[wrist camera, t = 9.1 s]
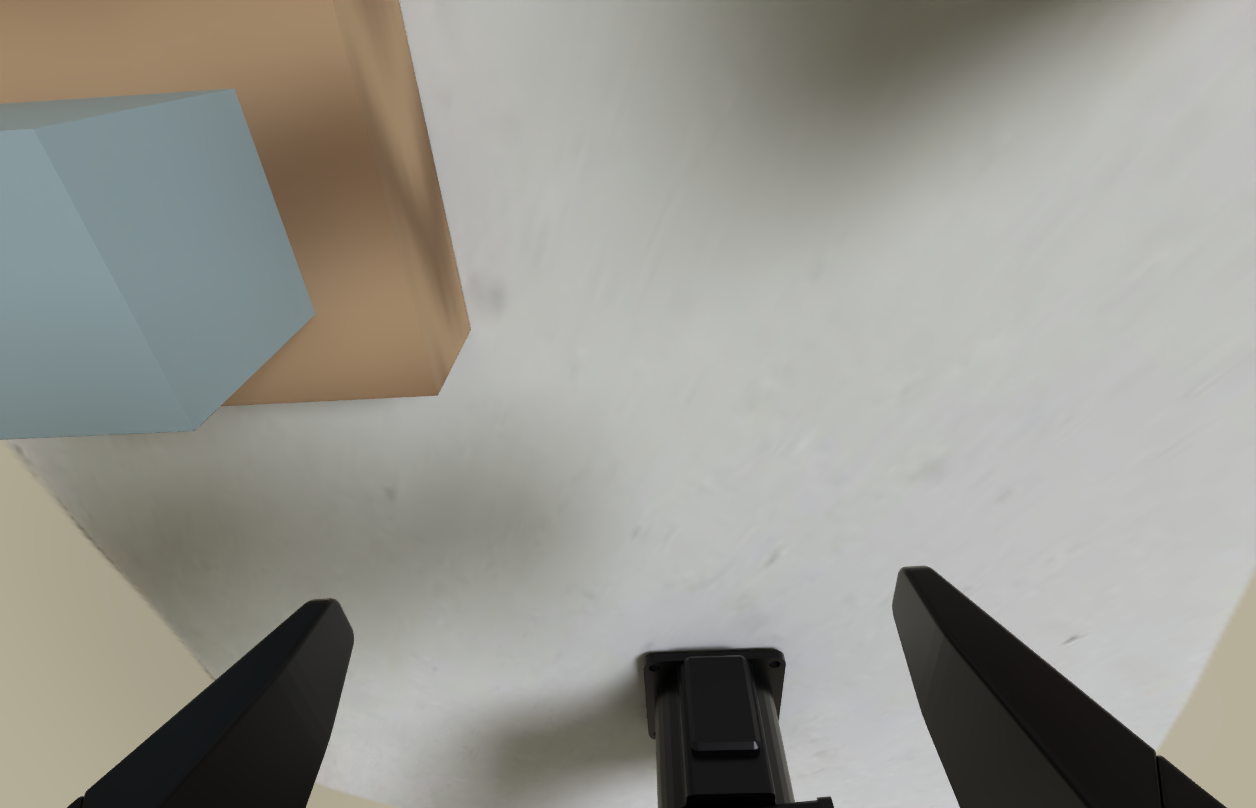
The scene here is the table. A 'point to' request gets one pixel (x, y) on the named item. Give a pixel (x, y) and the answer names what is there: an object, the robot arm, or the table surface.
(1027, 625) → the table surface
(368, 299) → the walnut block
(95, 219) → the slate block
